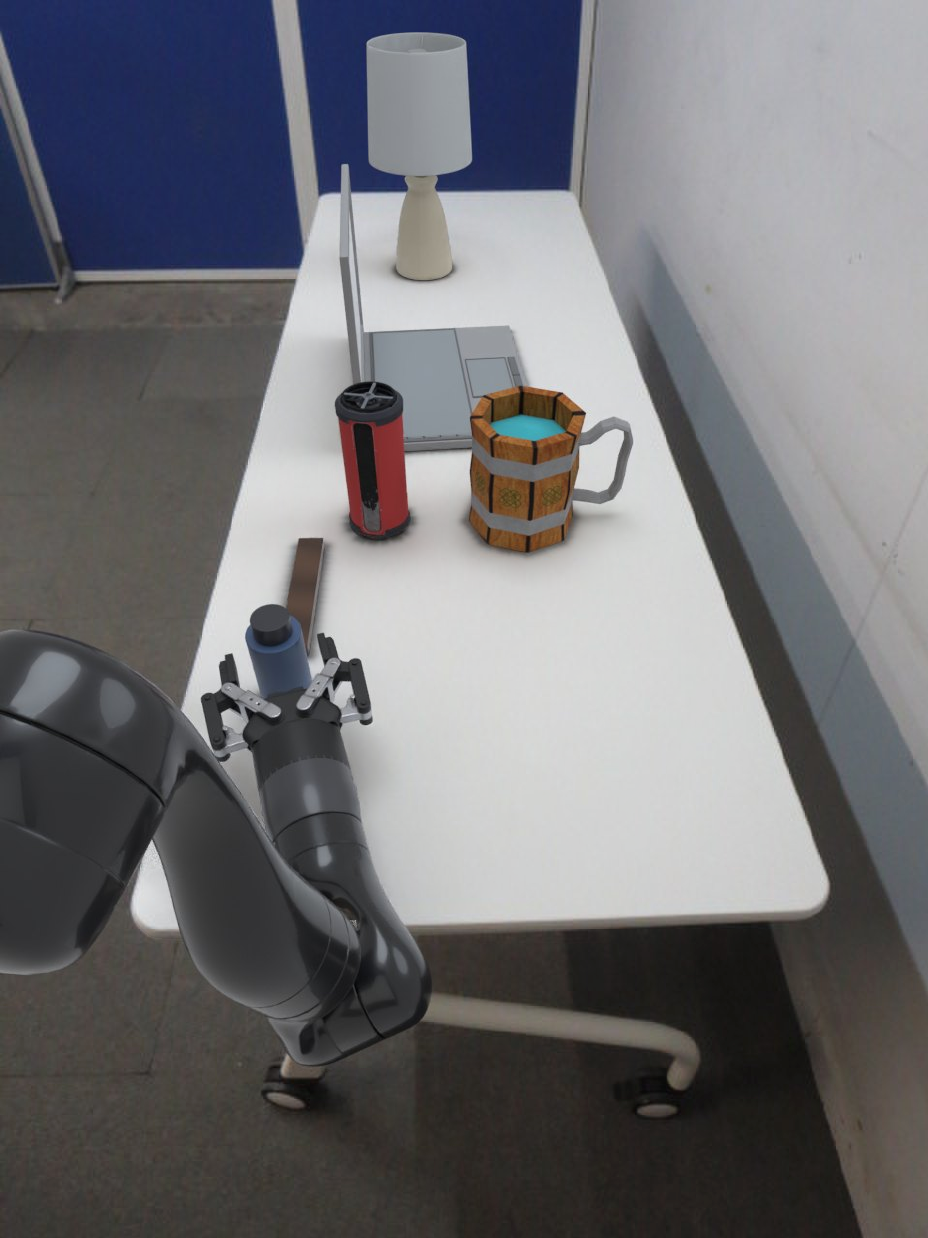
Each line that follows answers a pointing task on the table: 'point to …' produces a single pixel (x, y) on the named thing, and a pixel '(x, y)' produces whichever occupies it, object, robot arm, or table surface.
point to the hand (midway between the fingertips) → (276, 649)
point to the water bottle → (277, 650)
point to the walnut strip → (306, 585)
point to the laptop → (425, 359)
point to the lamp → (419, 136)
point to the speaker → (374, 458)
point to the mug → (532, 466)
